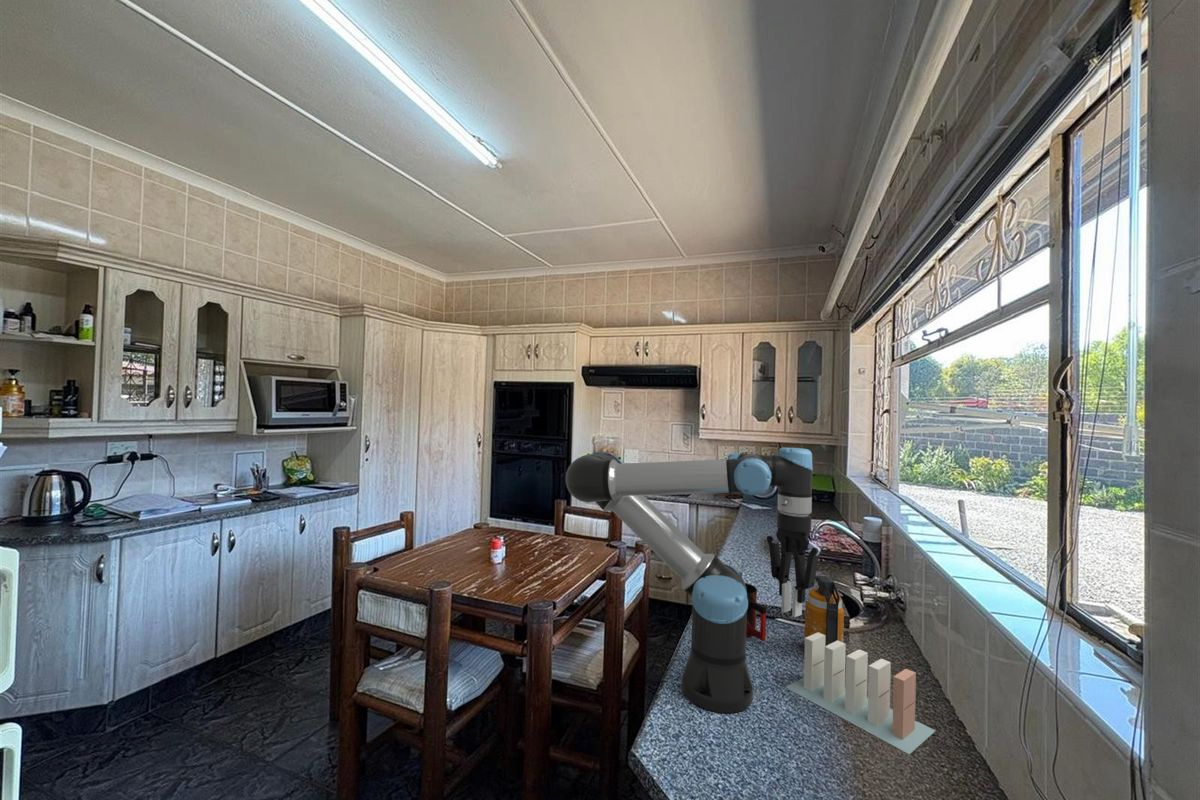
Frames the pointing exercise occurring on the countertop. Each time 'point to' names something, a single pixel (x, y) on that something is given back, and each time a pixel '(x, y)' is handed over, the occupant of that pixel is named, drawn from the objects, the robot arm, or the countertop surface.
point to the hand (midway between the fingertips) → (791, 612)
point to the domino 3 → (856, 681)
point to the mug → (751, 615)
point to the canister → (824, 611)
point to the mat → (865, 719)
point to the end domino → (904, 703)
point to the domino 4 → (879, 692)
